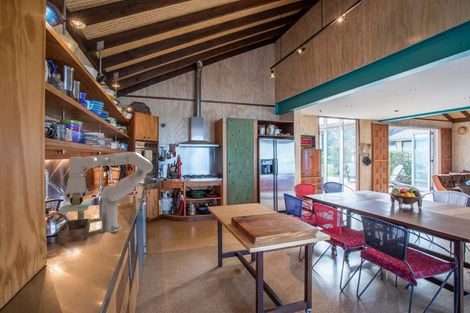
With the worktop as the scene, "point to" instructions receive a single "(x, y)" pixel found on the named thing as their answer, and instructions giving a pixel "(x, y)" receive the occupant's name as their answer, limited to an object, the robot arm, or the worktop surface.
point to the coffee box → (100, 209)
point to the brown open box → (74, 231)
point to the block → (81, 215)
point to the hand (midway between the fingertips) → (76, 203)
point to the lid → (75, 205)
